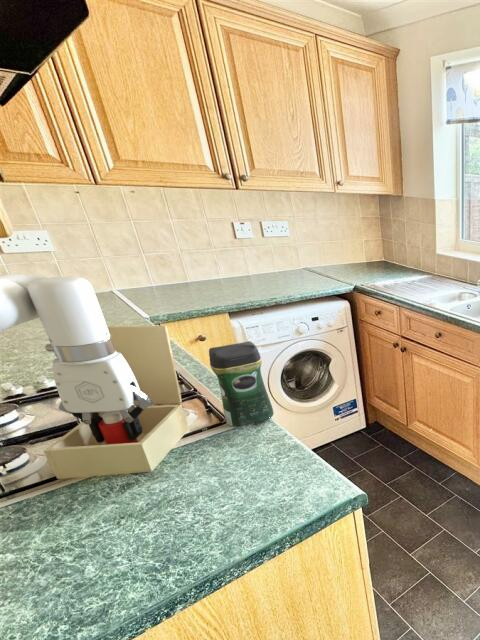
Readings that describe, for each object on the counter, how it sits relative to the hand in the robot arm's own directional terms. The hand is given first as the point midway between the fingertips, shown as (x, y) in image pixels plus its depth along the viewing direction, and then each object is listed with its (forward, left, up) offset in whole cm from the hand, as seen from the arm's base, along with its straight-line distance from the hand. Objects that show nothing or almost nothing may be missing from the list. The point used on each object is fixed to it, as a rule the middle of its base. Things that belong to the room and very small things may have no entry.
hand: (120, 436), depth 81 cm
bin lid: (0, +10, +11) cm, 14 cm away
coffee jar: (+18, +13, -5) cm, 23 cm away
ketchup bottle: (0, 0, -4) cm, 4 cm away
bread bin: (0, +1, -5) cm, 5 cm away
